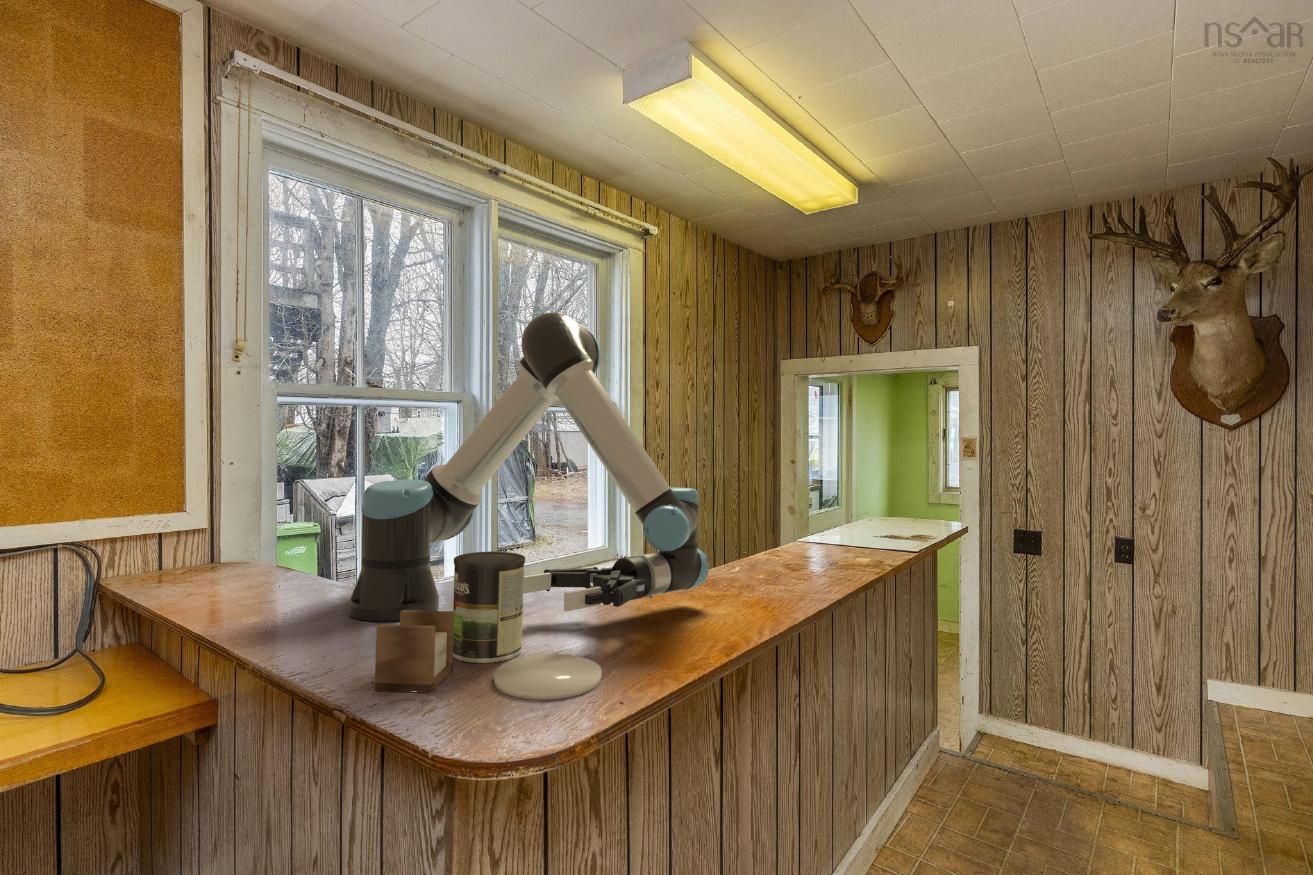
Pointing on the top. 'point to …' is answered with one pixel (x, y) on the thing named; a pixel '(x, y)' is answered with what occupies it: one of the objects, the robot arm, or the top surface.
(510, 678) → the disc
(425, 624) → the napkin caddy
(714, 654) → the top surface
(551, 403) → the robot arm
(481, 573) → the coffee can
